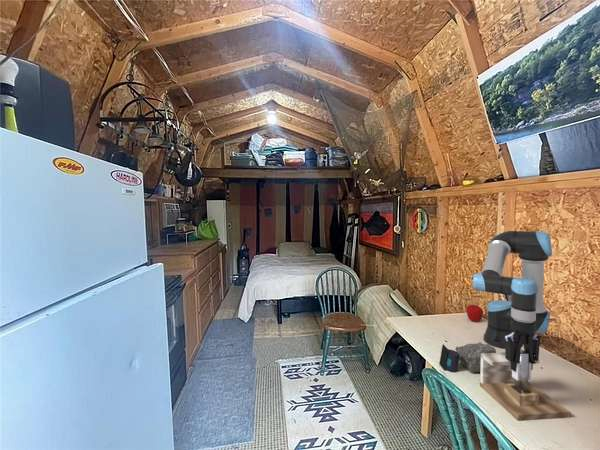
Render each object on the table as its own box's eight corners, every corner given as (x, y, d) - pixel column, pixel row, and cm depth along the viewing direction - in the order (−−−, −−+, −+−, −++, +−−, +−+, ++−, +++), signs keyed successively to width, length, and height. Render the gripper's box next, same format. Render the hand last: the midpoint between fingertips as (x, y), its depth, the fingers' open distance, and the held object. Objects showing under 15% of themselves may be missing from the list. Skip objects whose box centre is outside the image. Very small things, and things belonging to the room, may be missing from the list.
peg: (530, 390, 109) (531, 354, 108) (520, 390, 108) (521, 355, 108) (521, 383, 113) (522, 349, 112) (512, 384, 112) (512, 349, 112)
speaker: (439, 370, 135) (442, 348, 134) (439, 364, 140) (441, 343, 139) (458, 374, 132) (460, 353, 131) (456, 368, 137) (459, 348, 136)
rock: (511, 373, 126) (500, 352, 140) (493, 348, 126) (484, 330, 140) (470, 387, 133) (463, 366, 147) (453, 363, 133) (448, 344, 147)
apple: (469, 323, 187) (469, 307, 186) (463, 317, 196) (463, 302, 195) (485, 324, 185) (486, 307, 184) (479, 318, 194) (479, 302, 194)
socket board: (524, 383, 124) (525, 351, 123) (570, 417, 104) (571, 378, 103) (479, 385, 123) (480, 353, 122) (517, 420, 103) (518, 381, 102)
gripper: (535, 314, 113) (533, 371, 115) (494, 316, 112) (493, 373, 114) (553, 322, 106) (551, 382, 107) (509, 324, 105) (507, 385, 106)
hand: (521, 377), depth 110 cm, fingers closed on peg, 4 cm apart
